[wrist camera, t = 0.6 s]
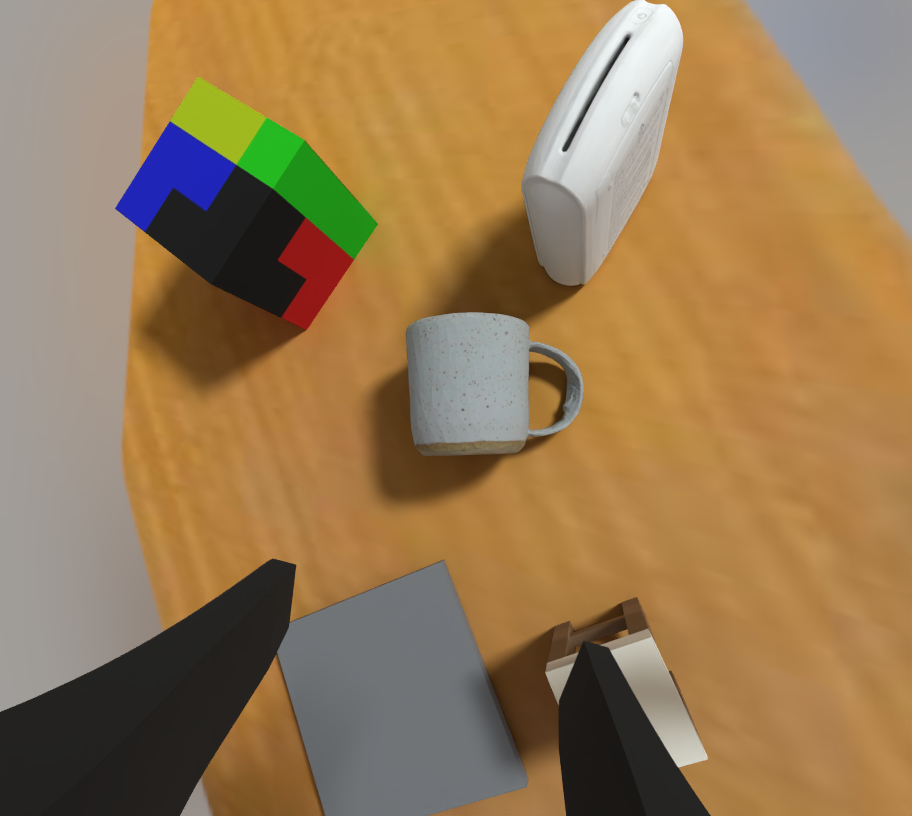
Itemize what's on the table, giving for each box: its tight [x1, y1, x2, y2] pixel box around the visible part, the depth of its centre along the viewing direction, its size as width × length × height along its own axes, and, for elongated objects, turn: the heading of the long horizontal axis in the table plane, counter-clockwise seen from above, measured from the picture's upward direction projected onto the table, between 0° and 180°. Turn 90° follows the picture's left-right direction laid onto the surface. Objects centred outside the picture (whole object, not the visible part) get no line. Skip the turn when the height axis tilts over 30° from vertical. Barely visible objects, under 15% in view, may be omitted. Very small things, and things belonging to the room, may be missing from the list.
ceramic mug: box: [406, 312, 583, 456], centre depth 29 cm, size 11×8×8 cm
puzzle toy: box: [115, 77, 378, 330], centre depth 34 cm, size 10×10×10 cm
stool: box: [545, 597, 708, 767], centre depth 25 cm, size 5×5×7 cm
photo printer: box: [521, 0, 683, 286], centre depth 26 cm, size 10×4×12 cm, turn 149°
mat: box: [277, 560, 528, 816], centre depth 32 cm, size 14×14×1 cm
